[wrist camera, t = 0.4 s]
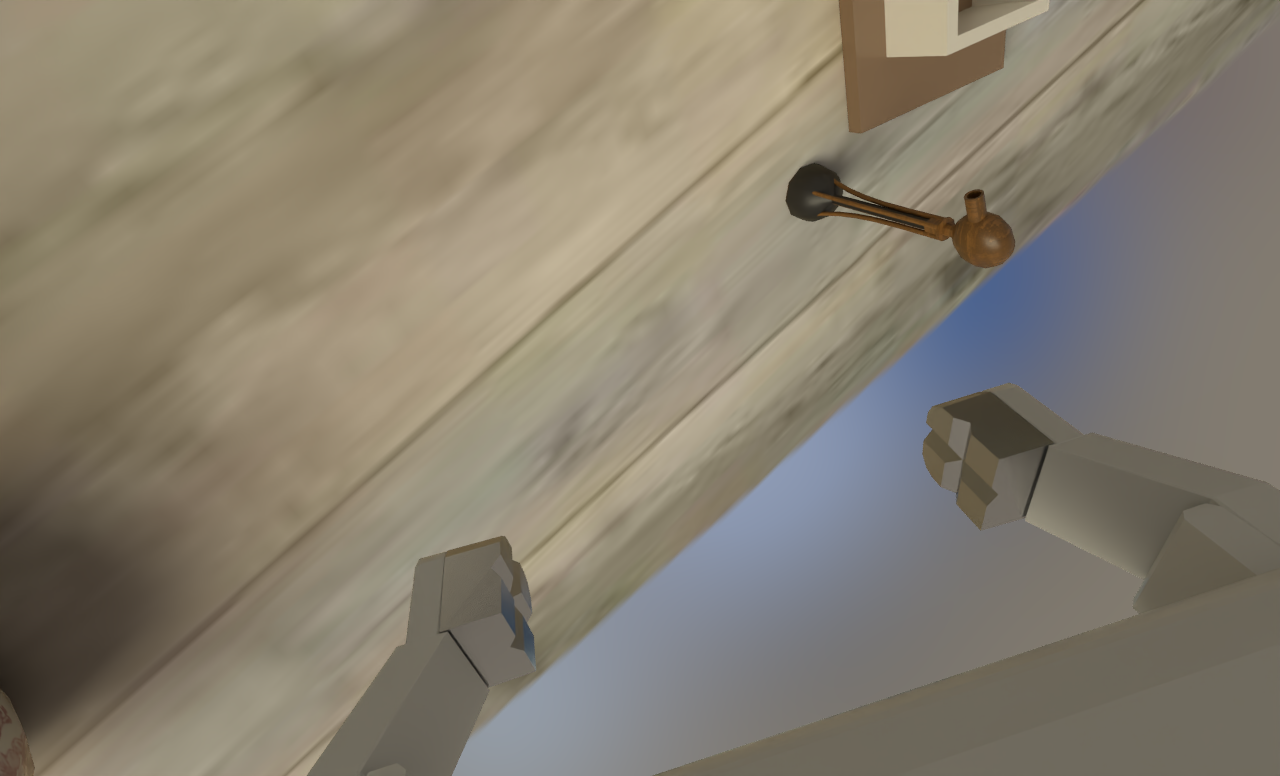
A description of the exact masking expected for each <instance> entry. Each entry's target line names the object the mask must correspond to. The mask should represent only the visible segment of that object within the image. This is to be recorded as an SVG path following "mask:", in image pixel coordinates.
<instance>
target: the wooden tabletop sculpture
mask: <svg viewBox="0 0 1280 776" xmlns="http://www.w3.org/2000/svg"><path fill="white" fill-rule="evenodd" d="M843 190H845V191H847V192H848V193H850V194H853V195H855V196H857V197H859V198H861V199H864V200H867V201H869V202H872V203H875V204H878V205H875V204H871V203H867V202H864V201H860V200H856V199H852V198H848V197H844V196H842V194H843ZM964 199H965V205H966V211H967V215H965V216H964V217H962V218H961V219H960V220H958V222H957V223H956V224H955V223H954V219H952V218H950V217H947V218H945V217H941V216H937V215H933V214H929V213H925V212H921V211H917V210H913V209H909V208H906V207H902V206H898V205H895V204H891V203H888V202H884V201H881V200H878V199H875V198H873V197H870V196H867V195H864V194H862V193H860V192H857V191H855V190H853V189H851V188H849V187H847V186H845V185H844V184H842V183H841V182H840V179H839V176H838V175H837V174H836V173H835V172H833V171H831V170H829V169H827V168H825V167H823V166H821V165H819V164H815V163H814V164H811V165H808V166H805V167H802V168H800V169H799V170H798V172H797V173H796V174H795V175H794V177H793V178H792V179H791V181H790V182H789V185H788V190H787V196H786V203H787V205H788V208H789V211H790V213H791V215H793V216H796V217H798V218H800V219H802V220H805V221H811V222H813V221H817V220H820V219H822V218H825V217H828V216H843V217H851V218H857V219H862V220H867V221H872V222H877V223H881V224H884V225H888V226H892V227H896V228H899V229H903V230H906V231H910V232H913V233H916V234H920V235H923V236H927V237H930V238H934V239H937V240H940V241H944V240H946V239H948V238H949V237H952V241H953V245H954V247H955V248H956V250H957V252H958V253H959V255H960V257H961V258H963V259H964V260H966V261H967V262H969V263H970V264H972V265H974V266H977V267H982V268H989V267H994V266H998V265H1001V264H1003V263H1004V262H1005V261H1006V260H1007V259H1008V258H1009V257H1010V256H1011V254H1012V253H1013V251H1014V247H1015V239H1014V236H1013V232H1012V229H1011V227H1010V226H1009V225H1008V224H1007V223H1006V222H1005V221H1004V220H1003V219H1002V218H1001V217H1000V216H999V215H996V214H993V213H990V212H987V210H986V203H985V196H984V191H983V190H980V189H977V190H972V191H970V192H968V193H966V194H965V196H964ZM879 205H880V206H879ZM838 206H842V207H845V208H849V209H853V210H856V211H860V212H863V213H867V214H870V215H874V216H877V217H881V218H885V219H888V220H885V219H881V218H877V217H872V216H866V215H861V214H855V213H846V212H834V211H835V210H836V208H837V207H838ZM883 206H884V207H883ZM889 220H892V221H895V222H892V221H889ZM896 222H899V223H896ZM900 223H902V224H900ZM904 224H906V225H904ZM907 225H909V226H907ZM911 226H913V227H911ZM915 227H916V228H915ZM918 228H920V229H918ZM922 229H924V230H922Z"/></svg>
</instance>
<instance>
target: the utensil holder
mask: <svg viewBox="0 0 1280 776" xmlns="http://www.w3.org/2000/svg"><path fill="white" fill-rule="evenodd" d="M1049 1H1050V0H839V7H840V19H841V32H842V45H843V58H844V71H845V83H846V96H847V109H848V122H849V132H854V133H863V132H865V131H868V130H870V129H872V128H874V127H876V126H878V125H881V124H883V123H885V122H887V121H889V120H891V119H894V118H896V117H898V116H900V115H902V114H904V113H907V112H909V111H911V110H913V109H915V108H917V107H920V106H922V105H924V104H926V103H928V102H930V101H932V100H935V99H937V98H939V97H941V96H943V95H945V94H948V93H950V92H952V91H954V90H956V89H958V88H961V87H963V86H965V85H967V84H969V83H971V82H974V81H976V80H978V79H980V78H982V77H984V76H987V75H989V74H991V73H993V72H995V71H997V70H999V69H1002V68H1003V66H1004V51H1005V35H1006V29H1008V28H1010V27H1012V26H1015V25H1017V24H1019V23H1021V22H1023V21H1026V20H1028V19H1030V18H1032V17H1035V16H1037V15H1039V14H1041V13H1044V12H1046V11H1048V10H1049Z"/></svg>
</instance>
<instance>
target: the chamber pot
mask: <svg viewBox="0 0 1280 776" xmlns="http://www.w3.org/2000/svg"><path fill="white" fill-rule="evenodd" d="M34 769H35V767H34V763H33V760H32V756H31V753H30V749H29V745H28V742H27V738H26V735H25V732H24V730H23V728H22V725H21V723H20V721H19V718H18V716H17V714H16V712H15V709H14V707H13V705H12V702H11V700H10V698H9V697H8V696H7V695H6V694H5V693H4V692H3V691H2V690H1V689H0V776H33V774H34Z"/></svg>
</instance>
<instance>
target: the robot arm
mask: <svg viewBox="0 0 1280 776" xmlns="http://www.w3.org/2000/svg"><path fill="white" fill-rule="evenodd" d="M926 423H927V424H928V425H929V426H930V427H931V428H932V431H931V432H930V433H929V434H928V436H927V437H926V438H925V439H924V442H923V453H922V454H923V457H924V461H925V464H926V468H927V469H928V471H929V473H930V474H931V476H932V477H933V479H934V480H935V481H936V482H937V483H938V484H939V486H940V487H942V488H945V489H947V490H950V491H952V492H955V493H956V504H957V505H958V506H959V508H960V509H961V510H962V511H963V512H964V513H965V514H966V515H967V516H968V517H969V518H970V519H971V520H972V522H973V523H974V524H975V525H976V526H977V527H978V528H979V529H980V530H985V529H988V528H992V527H995V526H999V525H1002V524H1006V523H1009V522H1013V521H1016V520H1020V519H1023V518H1025V521H1027V522H1029V523H1031V524H1033V525H1035V526H1037V527H1039V528H1041V529H1043V530H1045V531H1047V532H1049V533H1051V534H1053V535H1055V536H1057V537H1059V538H1061V539H1063V540H1065V541H1067V542H1069V543H1071V544H1073V545H1075V546H1077V547H1079V548H1081V549H1083V550H1085V551H1087V552H1089V553H1091V554H1093V555H1095V556H1097V557H1099V558H1101V559H1103V560H1105V561H1107V562H1109V563H1111V564H1113V565H1115V566H1117V567H1119V568H1121V569H1124V570H1125V571H1127V572H1129V573H1131V574H1133V575H1135V576H1137V577H1139V578H1141V579H1143V580H1144V581H1143V583H1142V585H1141V587H1140V588H1139V590H1138V592H1137V594H1136V595H1135V597H1134V600H1133V608H1134V609H1135V610H1136V611H1137V612H1138V613H1139V615H1135V616H1132V617H1130V618H1127V619H1123V620H1121V621H1118V622H1115V623H1111V624H1108V625H1105V626H1103V627H1099V628H1097V629H1093V630H1090V631H1087V632H1084V633H1081V634H1078V635H1075V636H1072V637H1070V638H1067V639H1063V640H1060V641H1057V642H1054V643H1051V644H1048V645H1045V646H1042V647H1039V648H1036V649H1033V650H1030V651H1027V652H1024V653H1021V654H1018V655H1015V656H1012V657H1009V658H1006V659H1003V660H1000V661H997V662H994V663H991V664H988V665H985V666H982V667H979V668H976V669H973V670H969V671H966V672H964V673H961V674H957V675H954V676H951V677H948V678H945V679H942V680H940V681H936V682H933V683H930V684H927V685H924V686H921V687H918V688H915V689H912V690H910V691H906V692H903V693H900V694H897V695H894V696H891V697H888V698H885V699H882V700H879V701H876V702H873V703H870V704H867V705H864V706H861V707H858V708H855V709H852V710H849V711H846V712H843V713H840V714H837V715H834V716H831V717H828V718H825V719H822V720H819V721H816V722H813V723H810V724H807V725H804V726H801V727H798V728H795V729H792V730H788V731H785V732H782V733H779V734H776V735H773V736H770V737H768V738H764V739H761V740H758V741H756V742H752V743H749V744H746V745H743V746H740V747H737V748H734V749H731V750H728V751H725V752H722V753H719V754H716V755H713V756H710V757H707V758H704V759H701V760H698V761H695V762H692V763H689V764H686V765H683V766H680V767H677V768H674V769H671V770H668V771H665V772H662V773H659V774H656V775H653V776H1280V490H1278V489H1277V488H1275V487H1273V486H1272V485H1270V484H1269V483H1267V482H1264V481H1261V480H1257V479H1253V478H1250V477H1247V476H1243V475H1240V474H1236V473H1233V472H1229V471H1226V470H1222V469H1219V468H1215V467H1211V466H1208V465H1204V464H1201V463H1197V462H1194V461H1190V460H1187V459H1183V458H1180V457H1176V456H1173V455H1169V454H1166V453H1162V452H1158V451H1155V450H1152V449H1148V448H1144V447H1141V446H1137V445H1133V444H1130V443H1127V442H1123V441H1120V440H1116V439H1112V438H1109V437H1106V436H1102V435H1099V434H1095V433H1089V434H1086V435H1083V434H1082V433H1081V432H1080V431H1078V430H1077V429H1076V428H1074V427H1073V426H1072V425H1070V424H1069V423H1068V422H1066V421H1065V420H1063V419H1062V418H1061V417H1059V416H1058V415H1057V414H1055V413H1054V412H1053V411H1051V410H1050V409H1049V408H1047V407H1046V406H1045V405H1043V404H1042V403H1041V402H1039V401H1038V400H1037V399H1035V398H1034V397H1033V396H1031V395H1030V394H1029V393H1027V392H1026V391H1024V390H1023V389H1022V388H1020V387H1019V386H1017V385H1015V384H1011V383H1007V384H1004V385H1000V386H997V387H994V388H991V389H987V390H984V391H982V392H977V393H974V394H971V395H967V396H964V397H961V398H958V399H955V400H951V401H948V402H945V403H942V404H938V405H935V406H932V408H931V409H930V410H929V412H928V415H927V421H926ZM531 614H532V605H531V597H530V592H529V587H528V582H527V579H526V577H525V574H524V571H523V569H522V567H521V565H520V563H518V562H516V561H514V560H512V547H511V546H510V544H509V542H508V540H507V539H506V537H505V536H500V537H496V538H492V539H489V540H485V541H481V542H478V543H474V544H470V545H467V546H463V547H459V548H456V549H452V550H448V551H446V552H443V553H439V554H436V555H432V556H428V557H425V558H421V559H419V561H418V563H417V565H416V567H415V573H414V581H413V589H412V597H411V604H410V612H409V620H408V628H407V636H406V644H404V645H401V646H398V647H396V649H395V650H394V652H393V653H392V655H391V656H390V657H389V659H388V660H387V662H386V663H385V665H384V666H383V667H382V669H381V670H380V672H379V673H378V675H377V676H376V677H375V679H374V680H373V682H372V683H371V685H370V686H369V687H368V689H367V690H366V692H365V693H364V695H363V696H362V697H361V699H360V700H359V702H358V703H357V705H356V706H355V707H354V709H353V710H352V712H351V713H350V715H349V716H348V717H347V719H346V720H345V722H344V723H343V725H342V726H341V727H340V729H339V730H338V732H337V733H336V735H335V736H334V737H333V739H332V740H331V742H330V743H329V745H328V746H327V747H326V749H325V750H324V752H323V753H322V755H321V756H320V757H319V759H318V760H317V762H316V763H315V765H314V766H313V767H312V769H311V770H310V772H309V773H308V775H307V776H452V774H453V771H454V769H455V767H456V765H457V762H458V760H459V758H460V756H461V753H462V751H463V749H464V747H465V744H466V742H467V740H468V738H469V735H470V733H471V731H472V729H473V726H474V724H475V722H476V720H477V718H478V715H479V713H480V711H481V709H482V706H483V704H484V702H485V700H486V697H487V695H488V693H489V689H488V688H489V687H491V686H494V685H497V684H500V683H503V682H506V681H509V680H512V679H515V678H517V677H520V676H523V675H526V674H529V673H532V672H535V671H536V661H535V646H534V635H533V633H532V631H531V630H530V628H529V626H528V624H527V622H528V620H529V618H530V616H531Z"/></svg>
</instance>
